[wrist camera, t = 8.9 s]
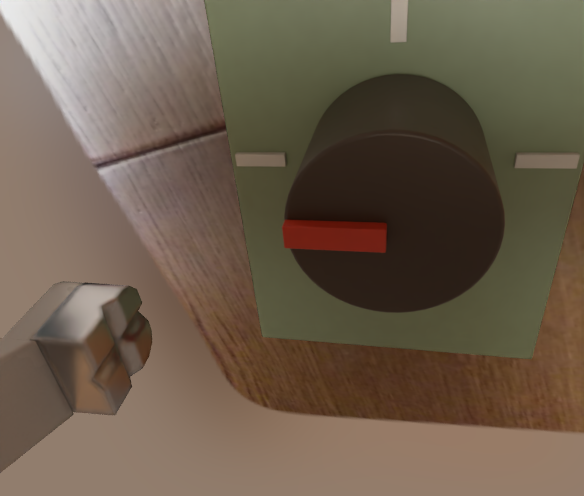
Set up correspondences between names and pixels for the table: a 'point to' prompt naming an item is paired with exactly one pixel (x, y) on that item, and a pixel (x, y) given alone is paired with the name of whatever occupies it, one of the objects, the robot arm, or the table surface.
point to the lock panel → (433, 65)
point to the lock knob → (395, 197)
